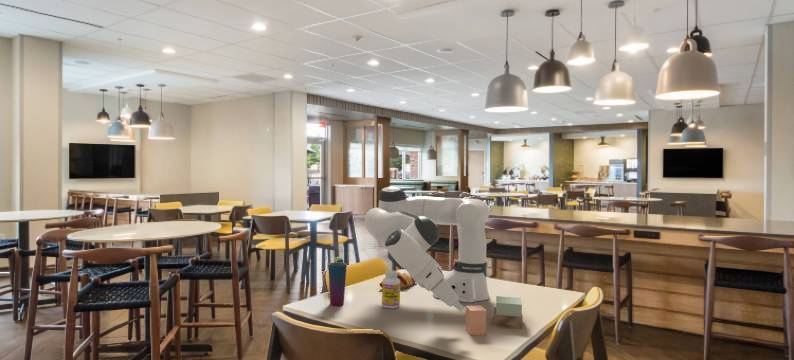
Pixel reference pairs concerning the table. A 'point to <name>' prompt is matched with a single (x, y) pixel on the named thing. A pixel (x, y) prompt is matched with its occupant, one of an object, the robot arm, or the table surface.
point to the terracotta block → (475, 320)
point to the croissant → (404, 280)
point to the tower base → (507, 321)
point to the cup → (337, 282)
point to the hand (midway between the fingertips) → (457, 304)
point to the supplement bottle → (391, 290)
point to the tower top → (508, 306)
